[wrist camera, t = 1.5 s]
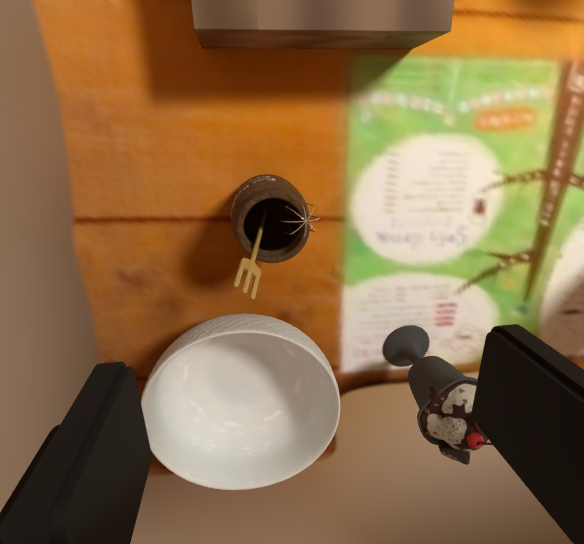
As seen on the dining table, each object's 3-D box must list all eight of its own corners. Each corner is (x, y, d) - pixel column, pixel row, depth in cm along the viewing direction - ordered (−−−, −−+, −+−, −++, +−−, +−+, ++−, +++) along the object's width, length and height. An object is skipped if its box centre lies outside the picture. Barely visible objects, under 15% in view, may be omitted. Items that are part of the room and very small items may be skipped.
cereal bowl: (129, 318, 34) (102, 363, 27) (306, 272, 34) (321, 306, 28) (189, 451, 40) (179, 514, 33) (337, 410, 41) (355, 464, 34)
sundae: (411, 305, 37) (514, 410, 23) (447, 343, 39) (561, 459, 25) (362, 347, 38) (433, 473, 24) (400, 382, 40) (485, 515, 26)
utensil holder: (315, 204, 32) (355, 244, 21) (267, 257, 33) (281, 322, 22) (263, 156, 30) (277, 173, 19) (214, 214, 31) (201, 262, 20)
